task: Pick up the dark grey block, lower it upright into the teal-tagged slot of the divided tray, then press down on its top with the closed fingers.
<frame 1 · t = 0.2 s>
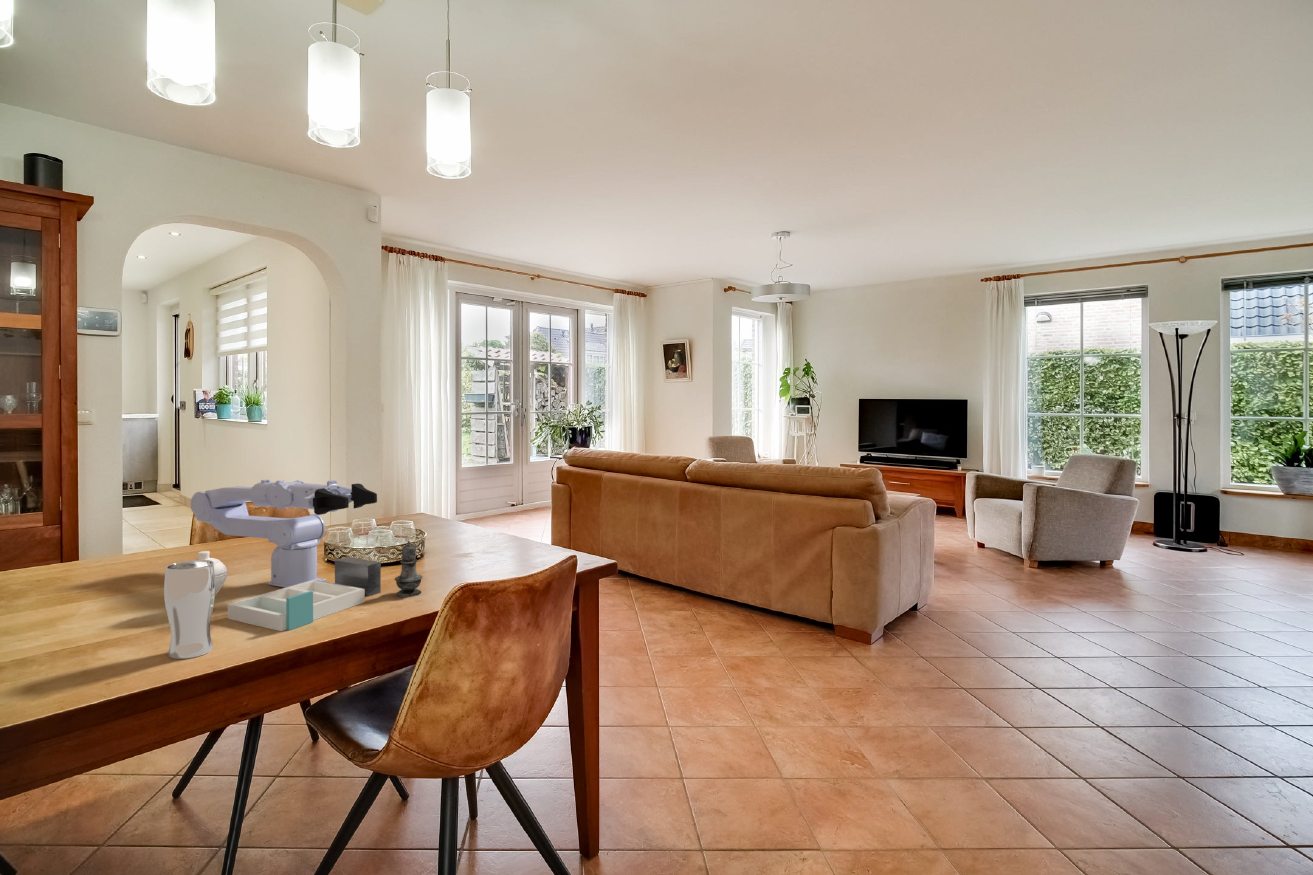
hand: (361, 500, 137), 21 cm above the table, tool horizontal, fingers open, 7 cm apart
dark grey stone ornament: (408, 594, 141), on the table
dark grey block: (357, 591, 142), on the table
beer glass: (191, 653, 106), on the table
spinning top: (204, 611, 126), on the table
divided tray: (299, 610, 128), on the table
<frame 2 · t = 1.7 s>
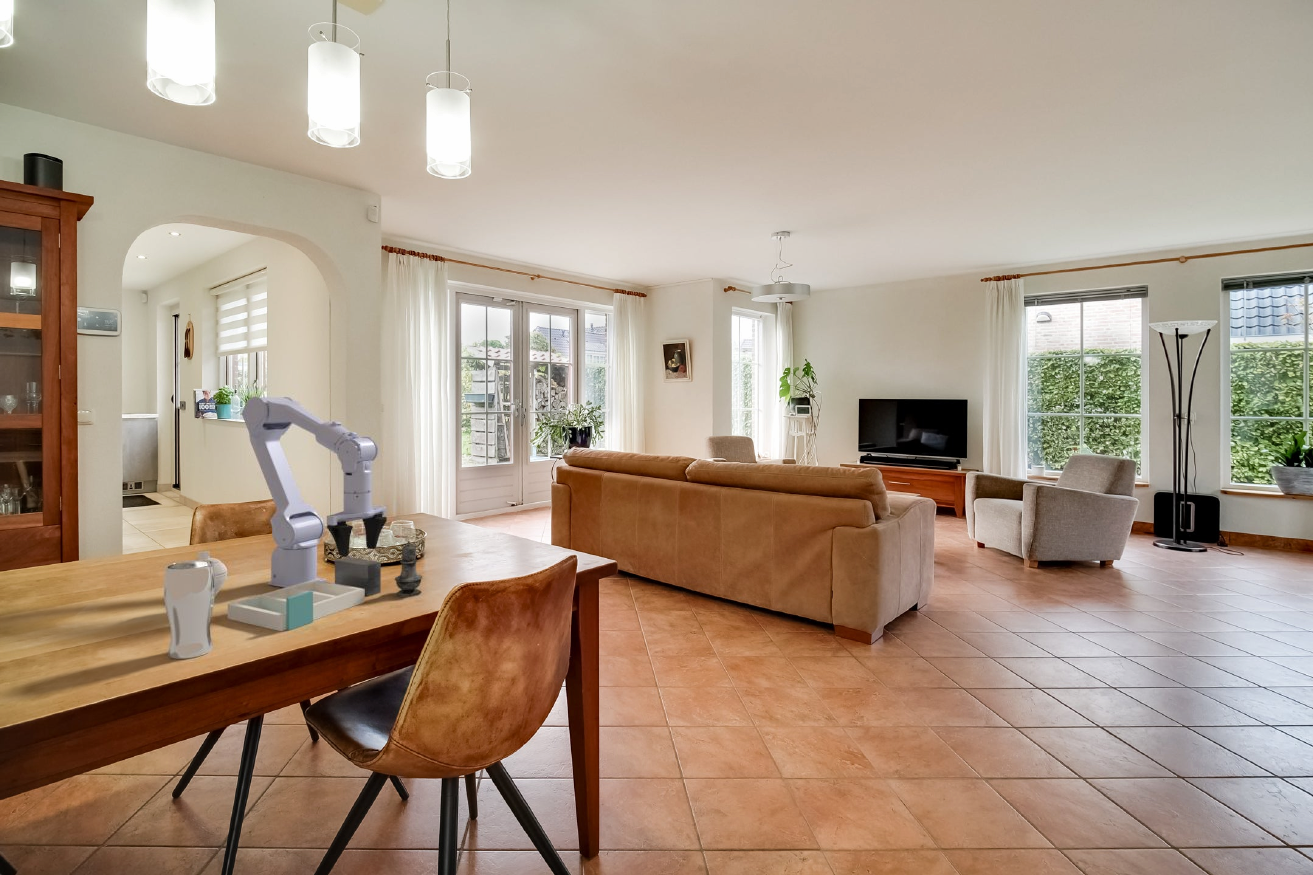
hand: (357, 551, 141), 9 cm above the table, tool pointing down, fingers open, 7 cm apart
nothing on the table moved.
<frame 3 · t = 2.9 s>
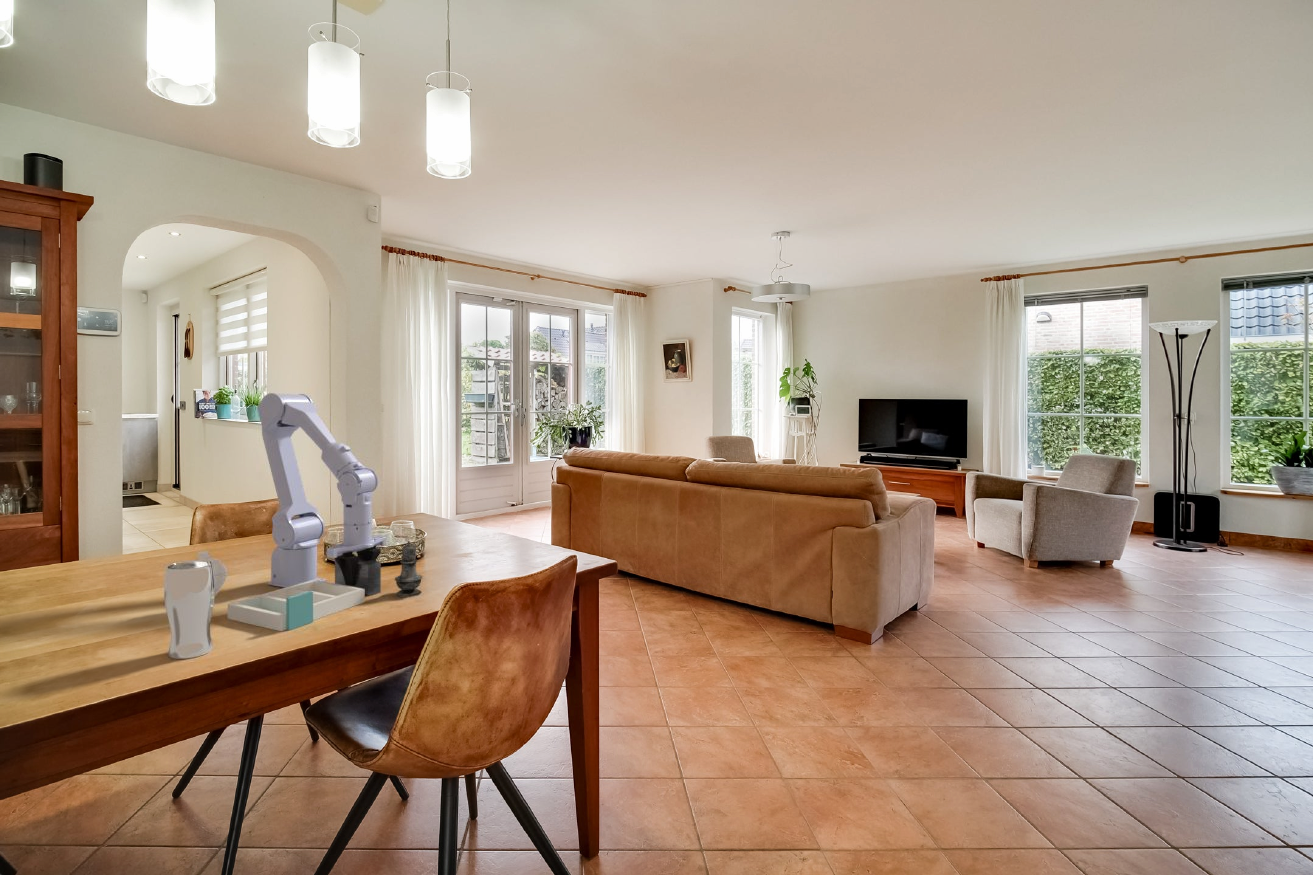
hand: (357, 582, 141), 2 cm above the table, tool pointing down, fingers closed on dark grey block, 3 cm apart
dark grey block: (357, 591, 142), on the table, touching gripper
everything else where it was.
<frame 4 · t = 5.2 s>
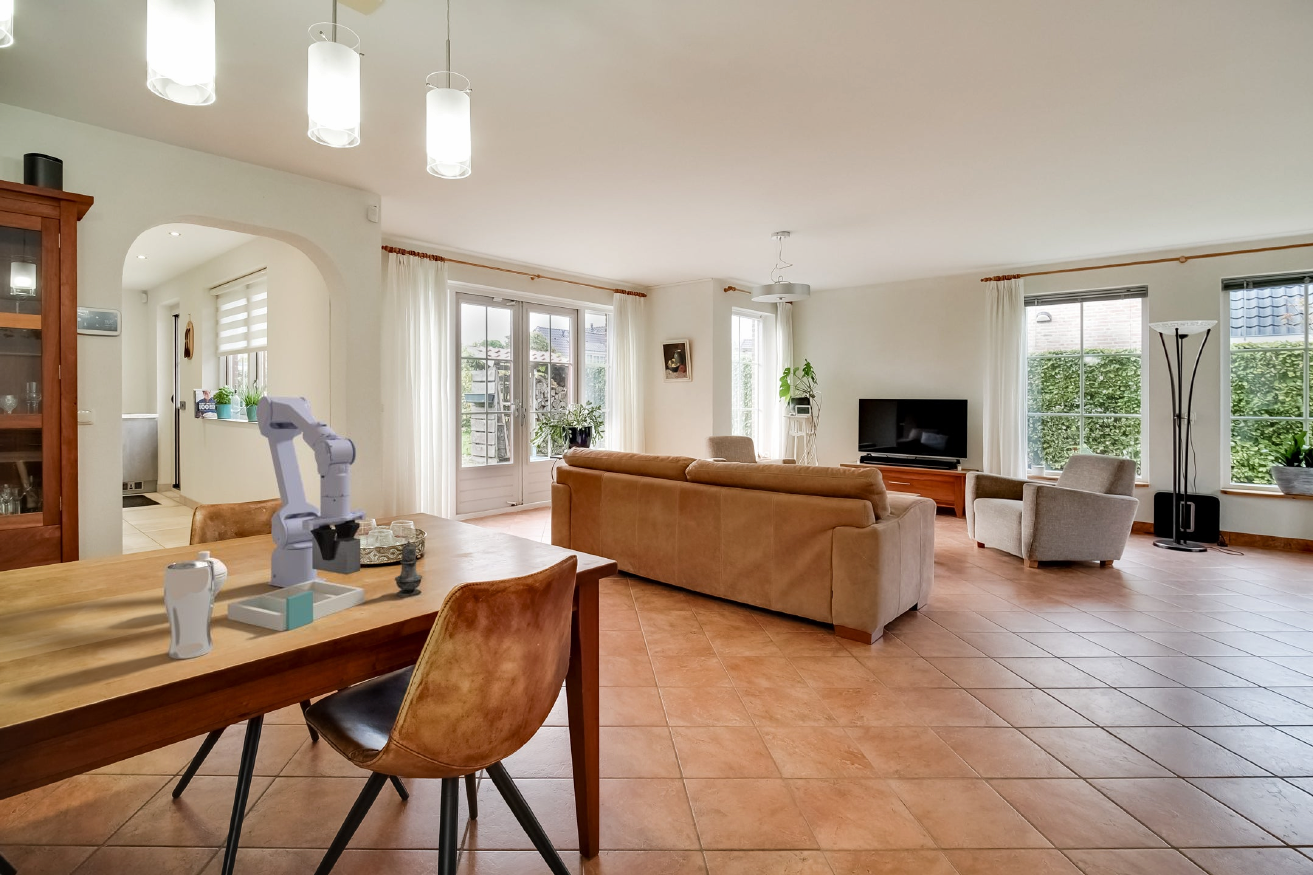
hand: (335, 557, 136), 9 cm above the table, tool pointing down, fingers closed on dark grey block, 3 cm apart
dark grey block: (336, 569, 136), point 6 cm above the table, touching gripper
everything else where it was.
when the fingers open (4 cm above the table, at t = 7.6 s): dark grey block stays where it is, resting on divided tray.
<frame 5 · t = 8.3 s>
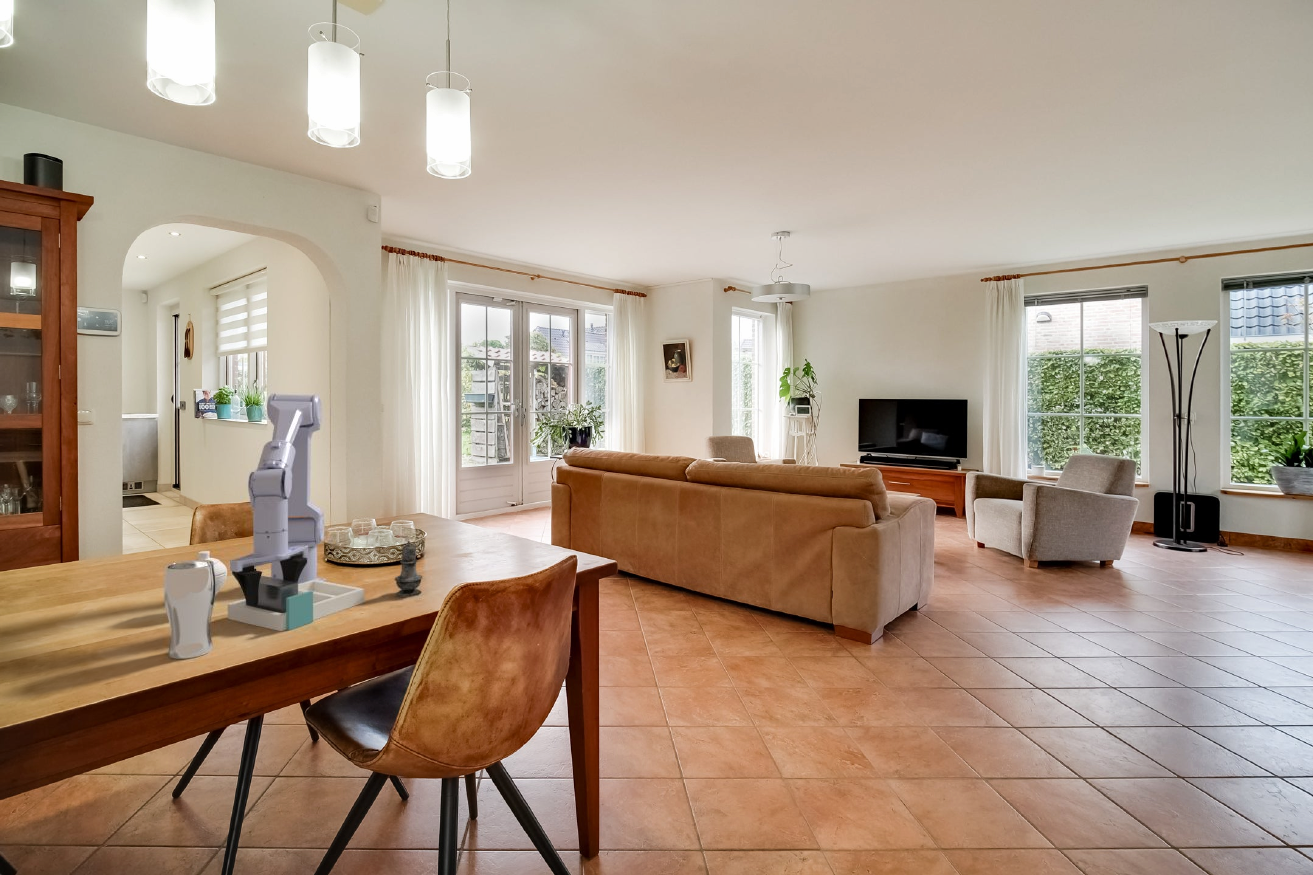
hand: (271, 599, 122), 4 cm above the table, tool pointing down, fingers open, 7 cm apart
dark grey block: (271, 616, 123), resting on divided tray
everything else where it was.
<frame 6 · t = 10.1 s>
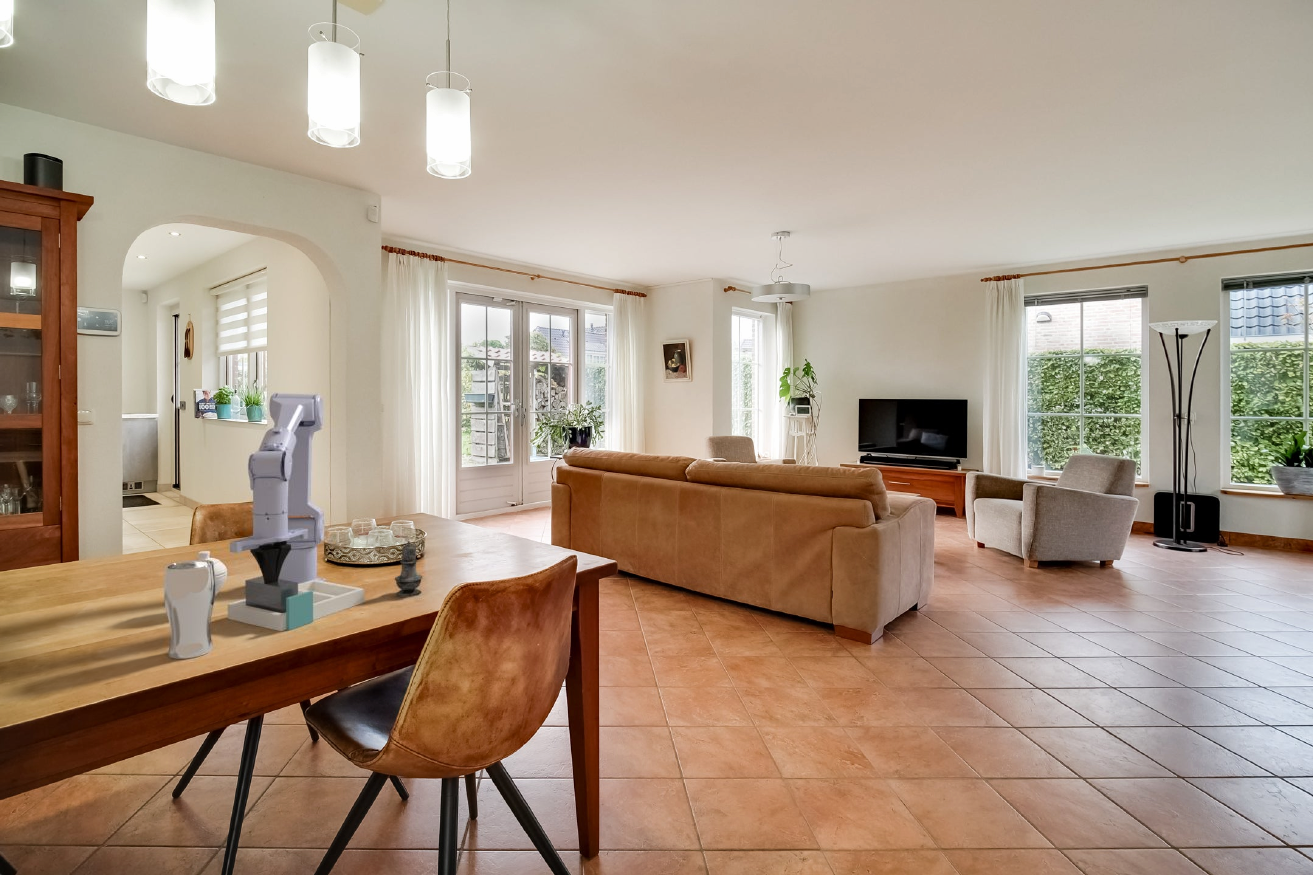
hand: (270, 582, 122), 7 cm above the table, tool pointing down, fingers closed, pressing on dark grey block
dark grey block: (271, 616, 123), resting on divided tray, touching gripper
everything else where it was.
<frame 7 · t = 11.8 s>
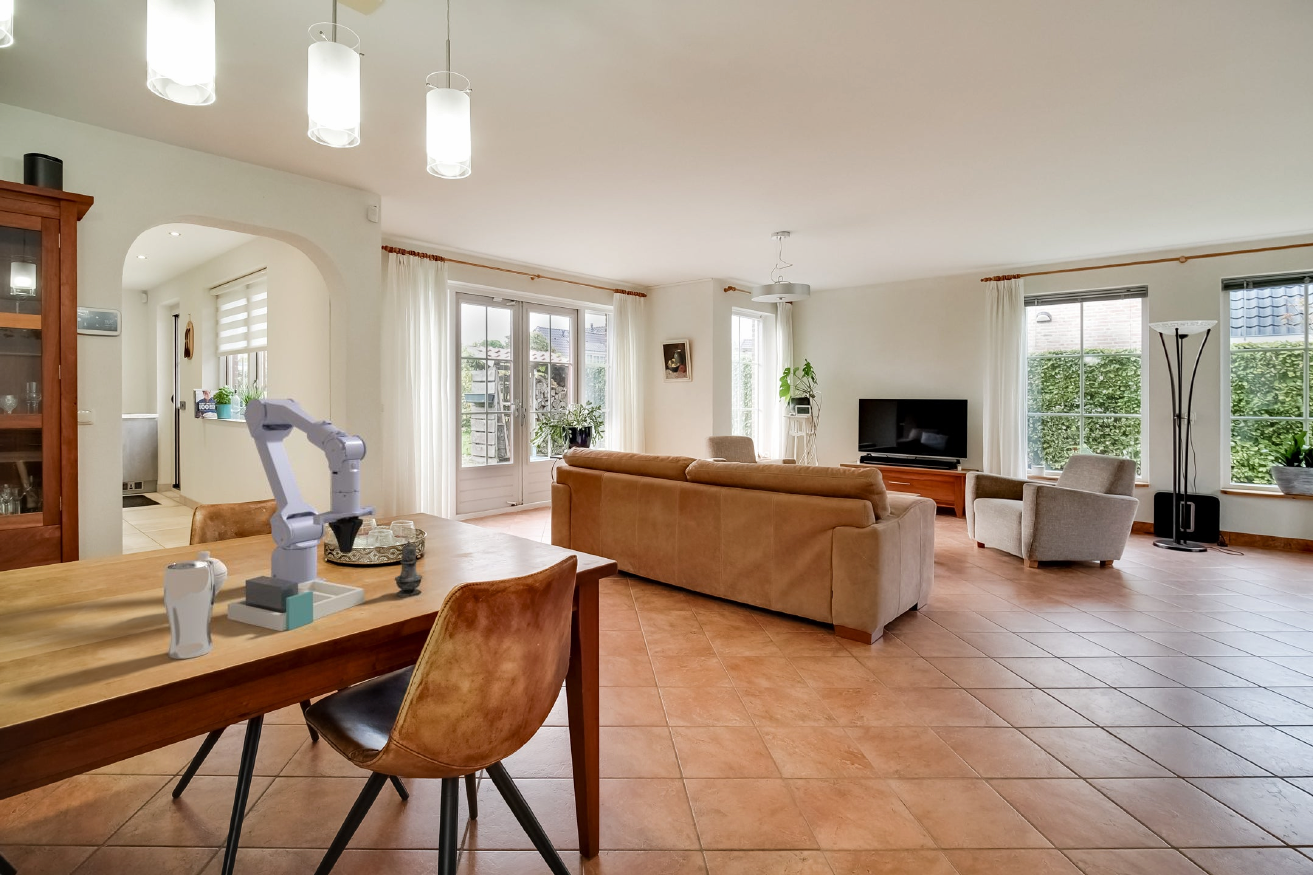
hand: (345, 551, 139), 9 cm above the table, tool pointing down, fingers closed
dark grey block: (271, 616, 123), resting on divided tray
everything else where it was.
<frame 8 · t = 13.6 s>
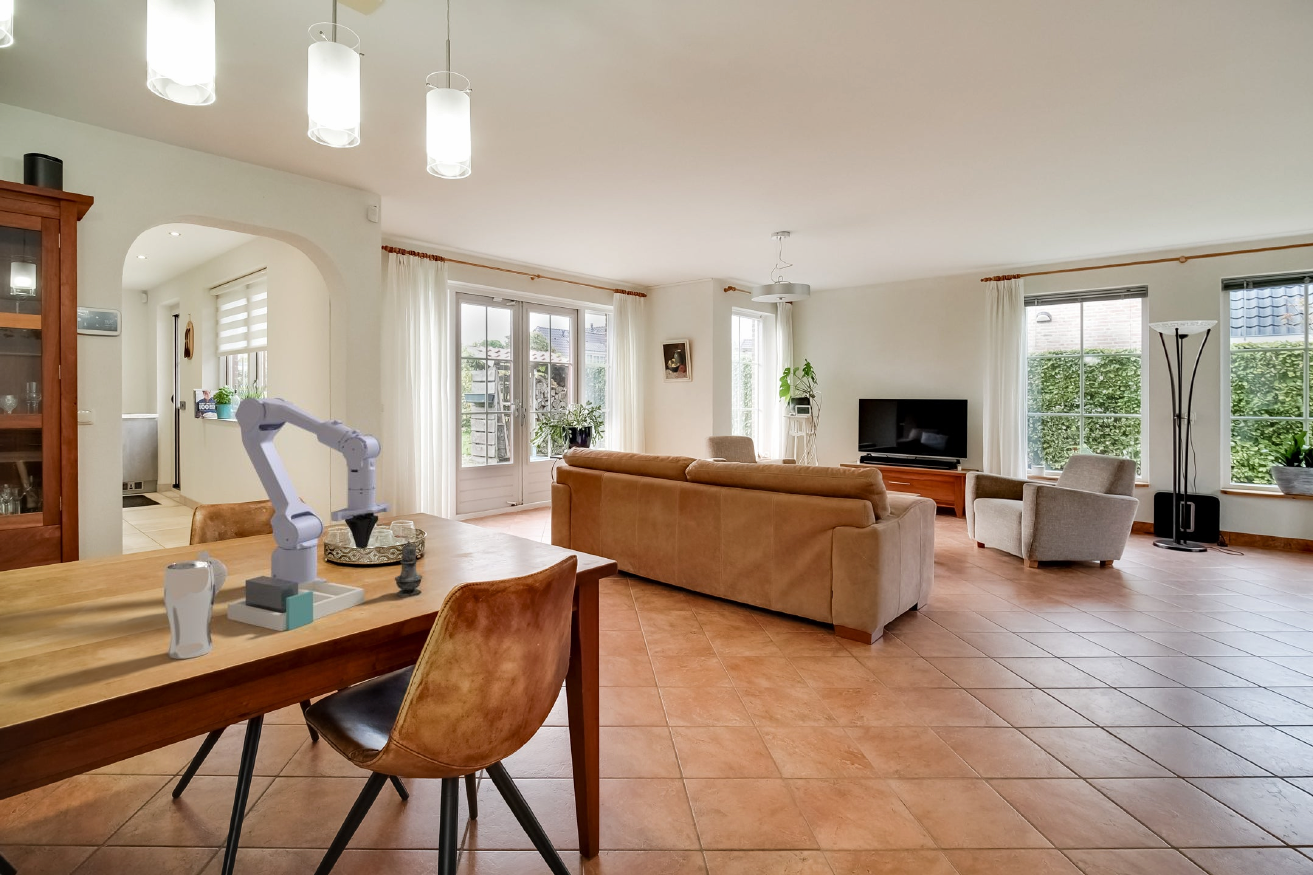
hand: (361, 547, 143), 9 cm above the table, tool pointing down, fingers closed
nothing on the table moved.
at the end: dark grey block 0.1 cm from the target spot, point 0.5 cm above the table; dark grey block tilted 0°; the gripper is holding nothing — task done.
